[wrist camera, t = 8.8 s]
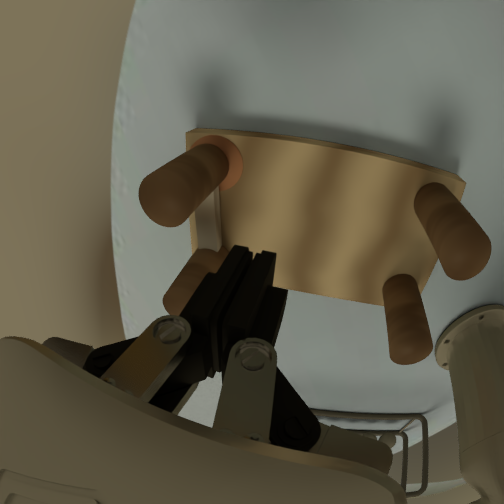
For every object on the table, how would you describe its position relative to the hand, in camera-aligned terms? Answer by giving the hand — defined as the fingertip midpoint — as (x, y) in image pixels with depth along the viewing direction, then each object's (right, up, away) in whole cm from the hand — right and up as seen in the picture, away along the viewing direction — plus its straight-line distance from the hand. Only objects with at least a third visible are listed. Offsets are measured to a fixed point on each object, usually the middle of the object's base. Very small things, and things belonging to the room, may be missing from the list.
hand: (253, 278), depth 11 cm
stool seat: (+6, +4, +13) cm, 15 cm away
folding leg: (-4, +4, +13) cm, 14 cm away
